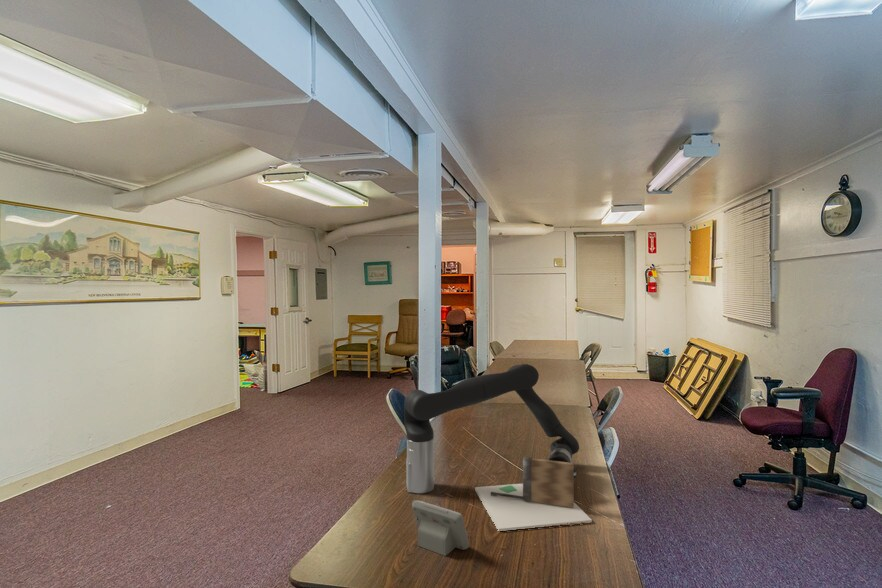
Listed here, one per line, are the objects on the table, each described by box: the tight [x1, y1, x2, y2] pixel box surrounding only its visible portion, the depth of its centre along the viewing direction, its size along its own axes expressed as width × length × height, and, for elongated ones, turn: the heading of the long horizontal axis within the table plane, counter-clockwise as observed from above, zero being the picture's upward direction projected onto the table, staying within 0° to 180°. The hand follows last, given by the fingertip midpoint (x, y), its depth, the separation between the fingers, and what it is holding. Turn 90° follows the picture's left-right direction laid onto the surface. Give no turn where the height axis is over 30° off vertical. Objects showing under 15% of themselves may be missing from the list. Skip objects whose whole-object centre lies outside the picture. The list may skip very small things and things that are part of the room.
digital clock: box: [411, 500, 470, 557], centre depth 126 cm, size 16×9×11 cm, turn 44°
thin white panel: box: [474, 483, 593, 532], centre depth 148 cm, size 28×28×1 cm
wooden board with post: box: [491, 456, 575, 507], centre depth 148 cm, size 26×3×13 cm, turn 70°
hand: (553, 481), depth 147 cm, fingers closed
